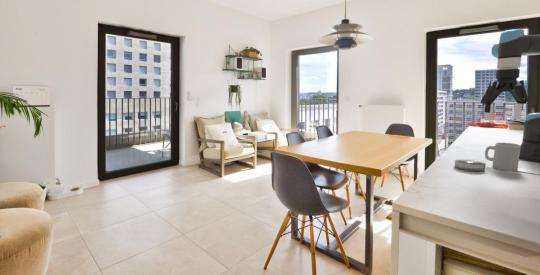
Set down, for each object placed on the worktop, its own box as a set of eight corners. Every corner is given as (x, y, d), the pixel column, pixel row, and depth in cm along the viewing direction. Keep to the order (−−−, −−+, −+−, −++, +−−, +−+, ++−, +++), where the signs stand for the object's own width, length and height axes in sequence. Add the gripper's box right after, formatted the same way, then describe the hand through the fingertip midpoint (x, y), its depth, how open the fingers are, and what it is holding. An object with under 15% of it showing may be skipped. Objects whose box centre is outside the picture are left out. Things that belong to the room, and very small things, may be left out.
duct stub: (471, 165, 131) (472, 158, 130) (491, 172, 120) (492, 165, 119) (448, 165, 130) (449, 159, 130) (466, 172, 119) (467, 165, 119)
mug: (520, 169, 123) (523, 144, 121) (513, 172, 118) (517, 147, 117) (487, 163, 133) (489, 140, 131) (480, 166, 128) (482, 142, 126)
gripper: (525, 68, 123) (520, 117, 127) (473, 70, 121) (469, 119, 124) (544, 67, 116) (537, 119, 120) (488, 68, 113) (483, 121, 117)
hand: (502, 119), depth 122 cm, fingers open, 13 cm apart
